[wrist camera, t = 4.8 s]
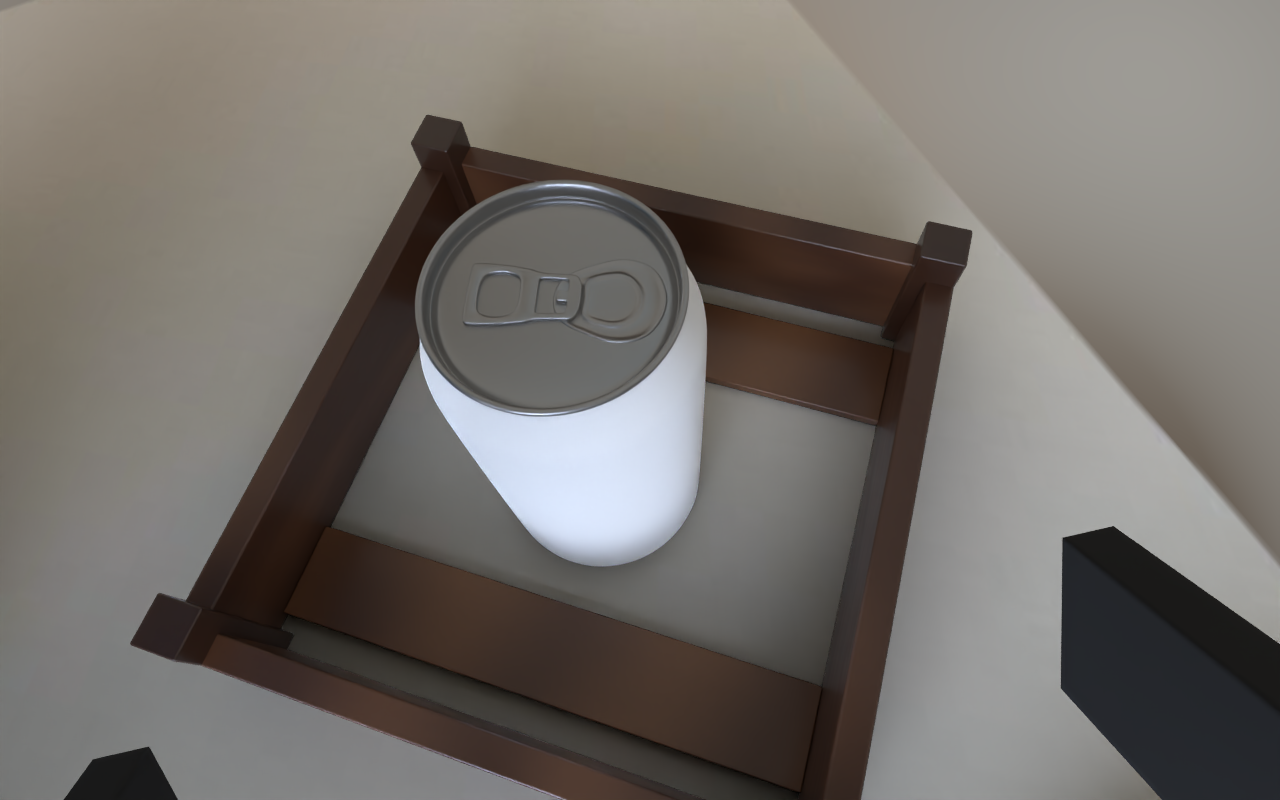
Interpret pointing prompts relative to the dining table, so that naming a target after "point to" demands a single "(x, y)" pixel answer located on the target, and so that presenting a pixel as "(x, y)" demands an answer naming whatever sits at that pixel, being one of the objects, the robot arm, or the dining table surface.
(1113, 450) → the dining table surface
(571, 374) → the can
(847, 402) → the crate
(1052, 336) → the dining table surface
